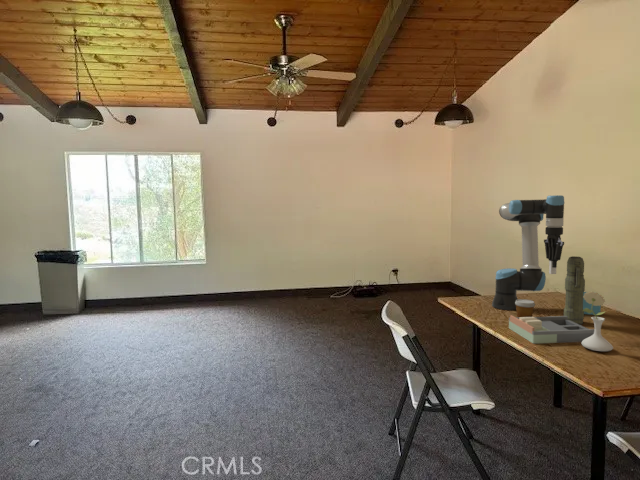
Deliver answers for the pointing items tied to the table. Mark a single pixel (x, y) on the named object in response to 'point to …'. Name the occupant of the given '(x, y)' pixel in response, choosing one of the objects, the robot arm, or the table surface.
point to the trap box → (551, 330)
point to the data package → (595, 308)
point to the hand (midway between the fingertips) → (552, 273)
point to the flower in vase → (596, 325)
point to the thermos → (574, 290)
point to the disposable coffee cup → (524, 307)
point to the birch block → (532, 322)
